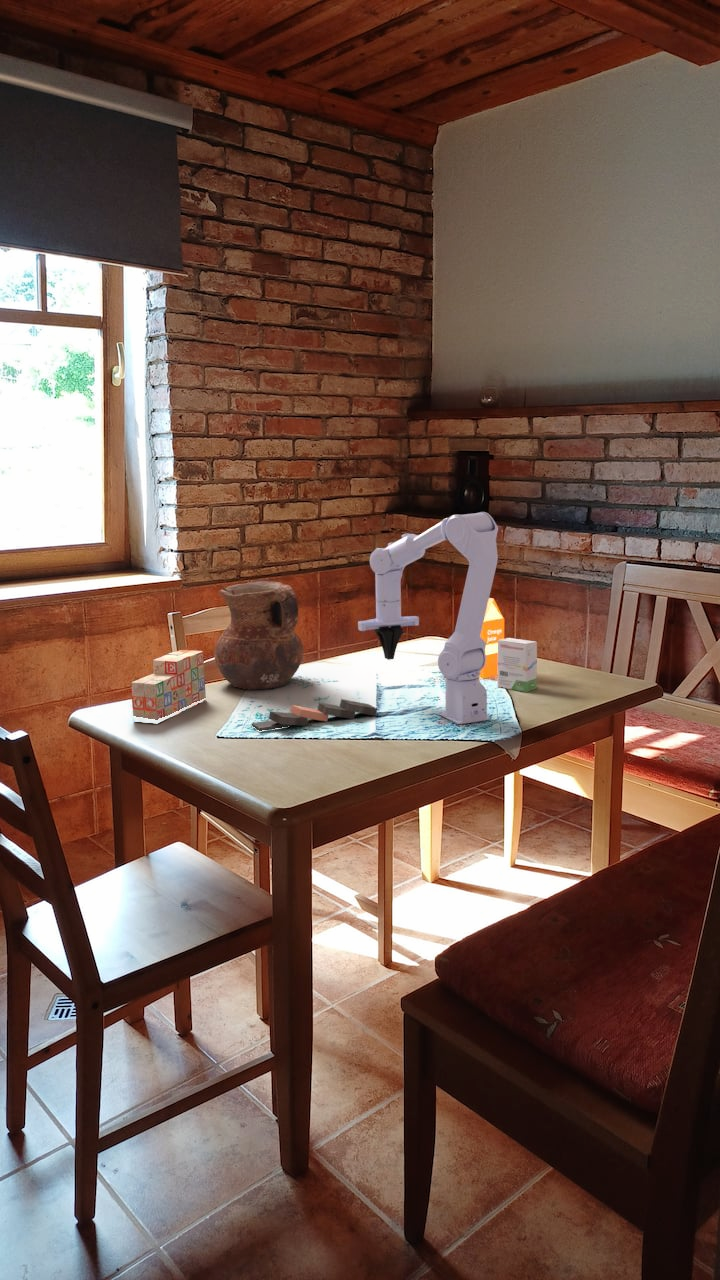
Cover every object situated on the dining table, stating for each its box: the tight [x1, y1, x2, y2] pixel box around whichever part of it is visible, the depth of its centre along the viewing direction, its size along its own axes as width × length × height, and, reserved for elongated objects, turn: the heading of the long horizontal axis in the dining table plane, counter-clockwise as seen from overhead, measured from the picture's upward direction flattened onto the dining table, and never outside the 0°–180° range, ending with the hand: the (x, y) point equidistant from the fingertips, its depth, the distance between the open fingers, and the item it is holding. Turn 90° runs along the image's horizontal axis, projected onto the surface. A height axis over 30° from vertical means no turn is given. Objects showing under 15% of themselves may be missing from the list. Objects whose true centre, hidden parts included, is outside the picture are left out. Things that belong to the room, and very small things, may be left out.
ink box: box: [497, 637, 538, 693], centre depth 235 cm, size 8×5×12 cm, turn 47°
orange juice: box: [479, 597, 505, 679], centre depth 250 cm, size 8×9×20 cm
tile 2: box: [317, 702, 356, 720], centre depth 213 cm, size 4×2×7 cm
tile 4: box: [251, 719, 291, 731], centre depth 208 cm, size 4×2×7 cm
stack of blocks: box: [131, 649, 207, 720], centre depth 221 cm, size 21×6×12 cm, turn 160°
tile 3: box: [268, 711, 309, 727], centre depth 207 cm, size 4×2×7 cm
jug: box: [214, 580, 304, 690], centre depth 244 cm, size 22×21×25 cm
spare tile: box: [289, 704, 330, 722], centre depth 211 cm, size 4×2×7 cm
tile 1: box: [339, 698, 378, 717], centre depth 215 cm, size 4×2×7 cm
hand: (389, 658), depth 226 cm, fingers closed
